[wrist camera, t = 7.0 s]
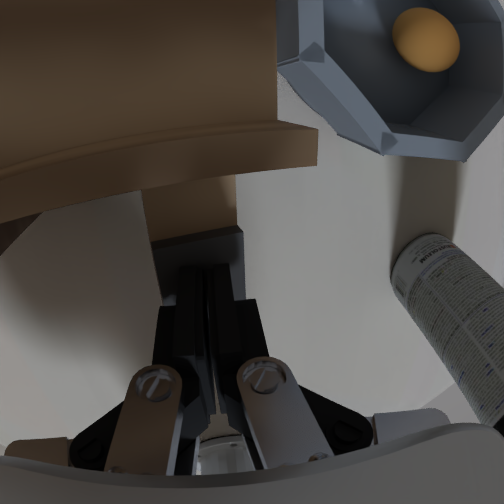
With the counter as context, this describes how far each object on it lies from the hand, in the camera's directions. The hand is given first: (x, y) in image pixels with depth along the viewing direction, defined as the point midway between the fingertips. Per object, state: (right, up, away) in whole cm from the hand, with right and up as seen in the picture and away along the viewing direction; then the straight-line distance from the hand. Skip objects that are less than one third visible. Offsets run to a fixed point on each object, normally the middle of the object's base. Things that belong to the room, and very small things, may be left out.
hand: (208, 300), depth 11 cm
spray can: (+16, +1, +13) cm, 20 cm away
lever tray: (-10, +6, -2) cm, 12 cm away
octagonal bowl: (+9, +15, +4) cm, 17 cm away
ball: (+11, +13, +1) cm, 17 cm away
